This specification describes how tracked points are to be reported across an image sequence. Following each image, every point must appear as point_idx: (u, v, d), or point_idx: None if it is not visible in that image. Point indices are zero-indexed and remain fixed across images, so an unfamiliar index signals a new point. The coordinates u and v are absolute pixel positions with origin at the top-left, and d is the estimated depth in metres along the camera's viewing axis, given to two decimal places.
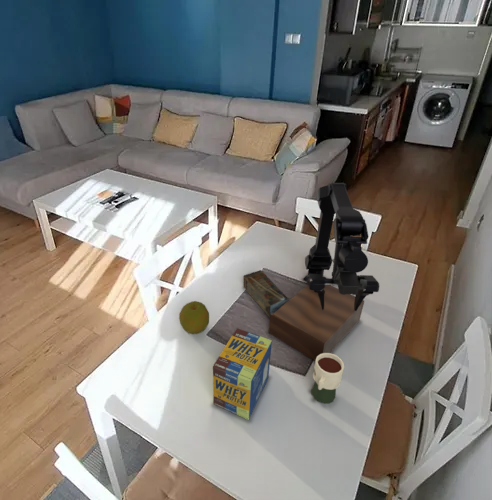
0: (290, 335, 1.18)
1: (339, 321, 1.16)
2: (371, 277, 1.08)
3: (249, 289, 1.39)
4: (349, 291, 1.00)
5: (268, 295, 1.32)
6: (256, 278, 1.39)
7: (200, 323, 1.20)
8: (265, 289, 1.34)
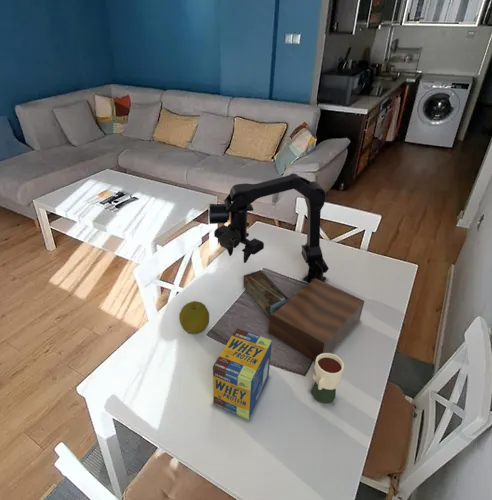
0: (290, 335, 1.18)
1: (339, 321, 1.16)
2: (257, 242, 1.30)
3: (249, 289, 1.39)
4: (223, 245, 1.30)
5: (268, 295, 1.32)
6: (256, 278, 1.39)
7: (200, 323, 1.20)
8: (265, 289, 1.34)
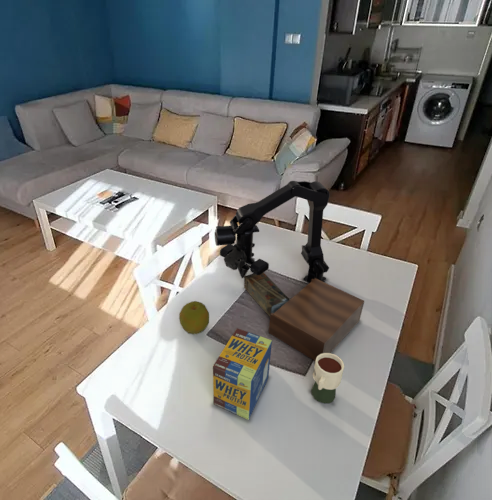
0: (290, 335, 1.18)
1: (339, 321, 1.16)
2: (262, 263, 1.33)
3: (250, 290, 1.39)
4: (228, 265, 1.33)
5: (270, 296, 1.31)
6: (257, 279, 1.39)
7: (200, 323, 1.20)
8: (266, 290, 1.34)
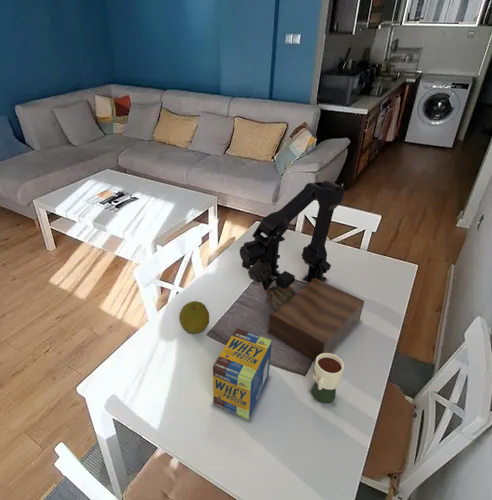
0: (290, 335, 1.18)
1: (339, 321, 1.16)
2: (288, 276, 1.26)
3: (274, 304, 1.32)
4: (252, 278, 1.26)
5: None
6: (282, 291, 1.32)
7: (200, 323, 1.20)
8: None
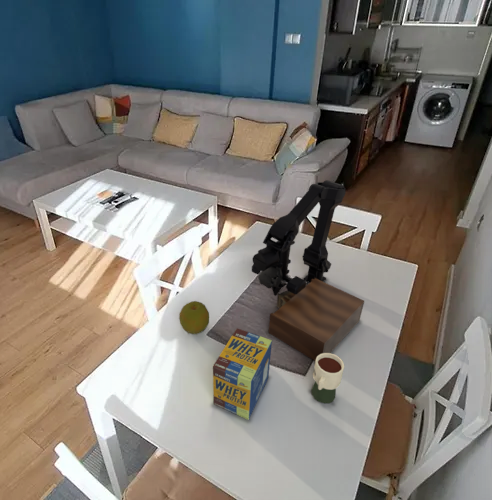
0: (290, 335, 1.18)
1: (339, 321, 1.16)
2: (300, 281, 1.24)
3: None
4: (263, 283, 1.24)
5: None
6: None
7: (200, 323, 1.20)
8: None
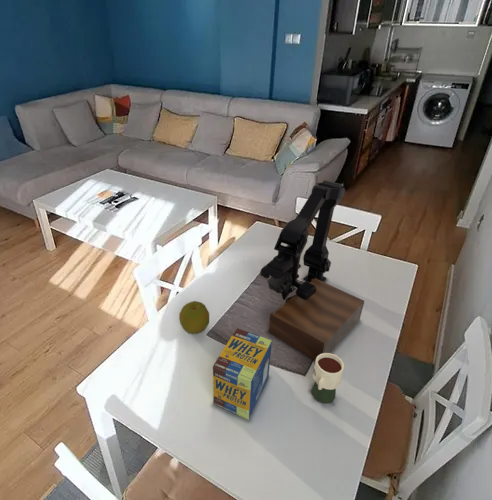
0: (290, 335, 1.18)
1: (339, 321, 1.16)
2: (310, 286, 1.21)
3: None
4: (272, 288, 1.22)
5: None
6: None
7: (200, 323, 1.20)
8: None
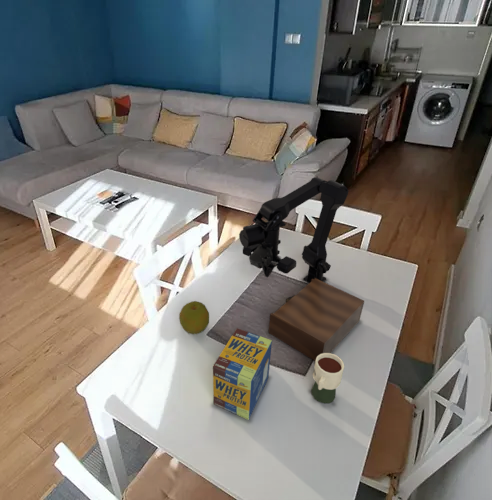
0: (290, 335, 1.18)
1: (339, 321, 1.16)
2: (290, 260, 1.25)
3: None
4: (254, 264, 1.25)
5: None
6: None
7: (200, 323, 1.20)
8: None
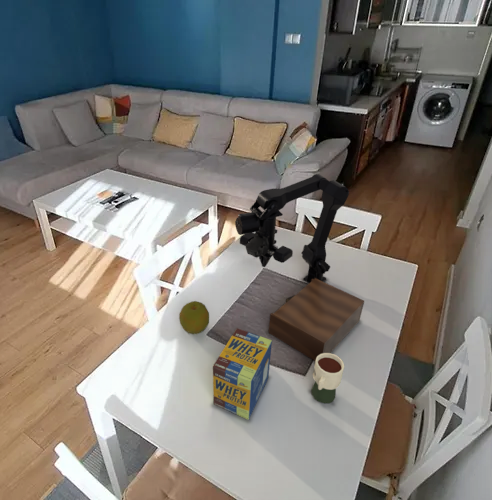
0: (290, 335, 1.18)
1: (339, 321, 1.16)
2: (286, 250, 1.26)
3: None
4: (250, 253, 1.26)
5: None
6: None
7: (200, 323, 1.20)
8: None
